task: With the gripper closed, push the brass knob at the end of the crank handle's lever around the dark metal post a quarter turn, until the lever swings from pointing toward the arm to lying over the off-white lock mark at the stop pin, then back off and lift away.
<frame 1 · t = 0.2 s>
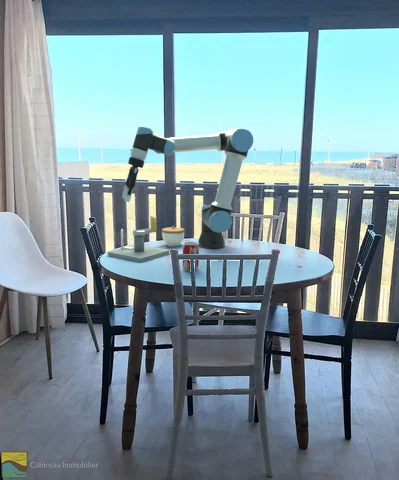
hand: (125, 199, 204), 28 cm above the table, tool tilted 15°, fingers open, 13 cm apart
post board: (139, 254, 208), on the table
lidded bowl: (173, 245, 232), on the table
soda can: (190, 270, 182), on the table
crank handle: (145, 225, 209), point 14 cm above the table, hinge at 0.0°
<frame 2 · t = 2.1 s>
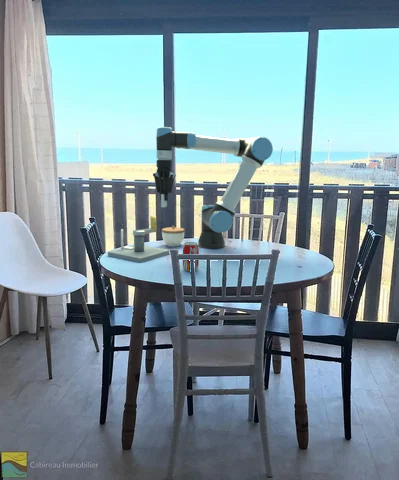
hand: (164, 207, 208), 24 cm above the table, tool pointing down, fingers closed
nothing on the table moved.
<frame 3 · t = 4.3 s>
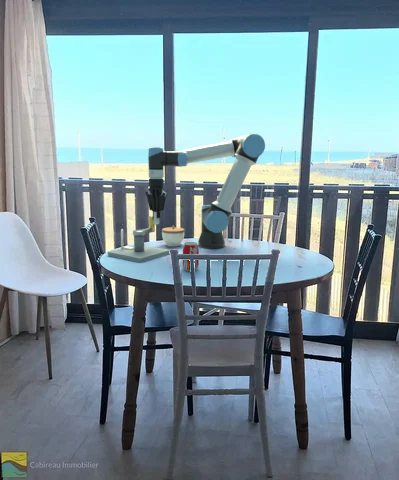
hand: (156, 224, 212), 15 cm above the table, tool pointing down, fingers closed
crank handle: (144, 225, 209), point 14 cm above the table, hinge at 5.1°, touching gripper
everything else where it was.
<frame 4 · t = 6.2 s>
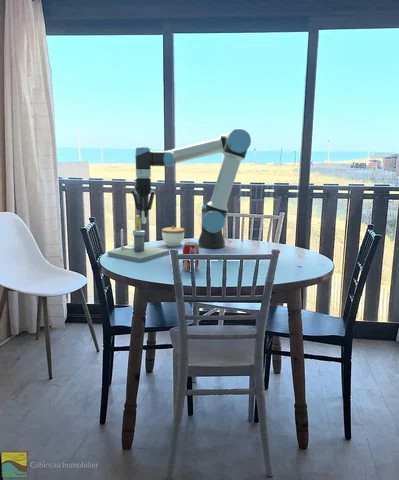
hand: (144, 223, 215), 15 cm above the table, tool pointing down, fingers closed
crank handle: (138, 225, 209), point 14 cm above the table, hinge at 46.0°, touching gripper
everything else where it was.
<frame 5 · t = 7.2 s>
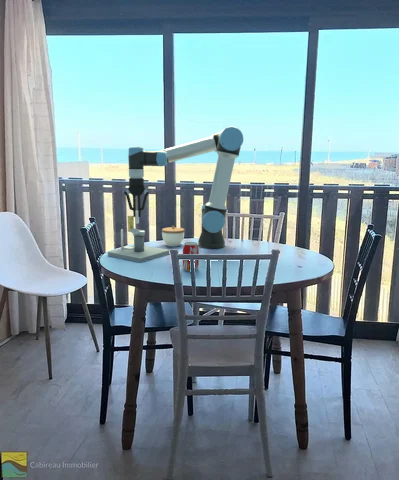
hand: (137, 223, 215), 15 cm above the table, tool pointing down, fingers closed
crank handle: (135, 225, 209), point 14 cm above the table, hinge at 65.2°, touching gripper
everything else where it was.
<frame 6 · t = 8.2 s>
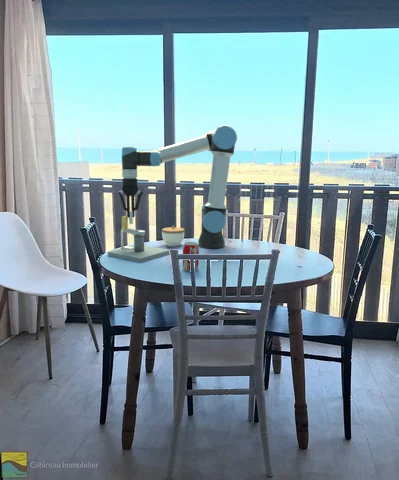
hand: (130, 223, 214), 14 cm above the table, tool pointing down, fingers closed
crank handle: (132, 225, 208), point 14 cm above the table, hinge at 83.4°, touching gripper
everything else where it was.
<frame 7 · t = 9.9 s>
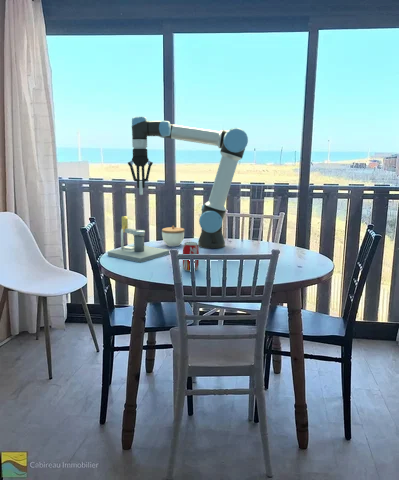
hand: (141, 194, 215), 29 cm above the table, tool pointing down, fingers closed
crank handle: (132, 225, 208), point 14 cm above the table, hinge at 83.6°
everything else where it was.
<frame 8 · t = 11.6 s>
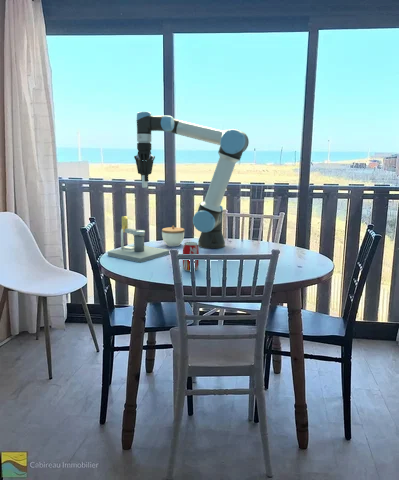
hand: (144, 187, 221), 32 cm above the table, tool pointing down, fingers closed
nothing on the table moved.
at the end: crank handle at +84° (first picture: +0°); the gripper is holding nothing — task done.
